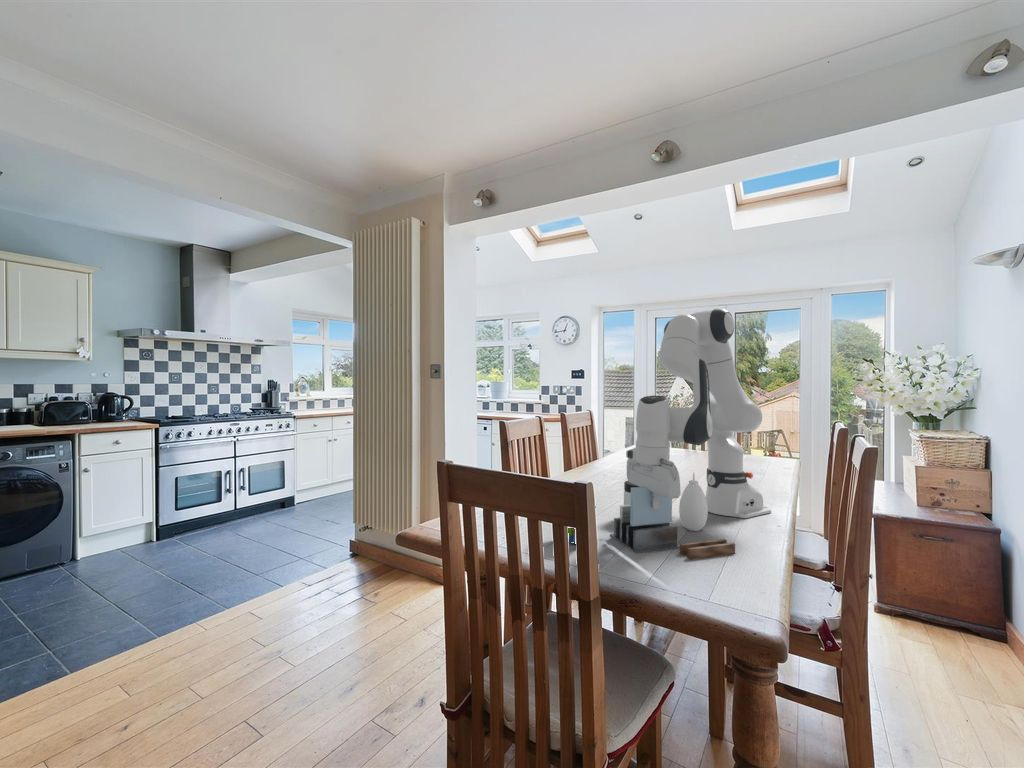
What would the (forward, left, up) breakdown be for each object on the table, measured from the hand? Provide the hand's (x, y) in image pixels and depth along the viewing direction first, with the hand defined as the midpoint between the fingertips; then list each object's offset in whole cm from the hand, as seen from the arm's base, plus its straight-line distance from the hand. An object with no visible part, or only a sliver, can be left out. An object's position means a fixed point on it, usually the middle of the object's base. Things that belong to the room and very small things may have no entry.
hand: (651, 506), depth 126 cm
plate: (0, 0, -5) cm, 5 cm away
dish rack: (0, -3, -12) cm, 12 cm away
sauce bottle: (-20, -8, -12) cm, 25 cm away
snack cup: (+17, -11, -12) cm, 23 cm away
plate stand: (-11, +9, -12) cm, 18 cm away
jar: (-10, -23, -12) cm, 28 cm away
